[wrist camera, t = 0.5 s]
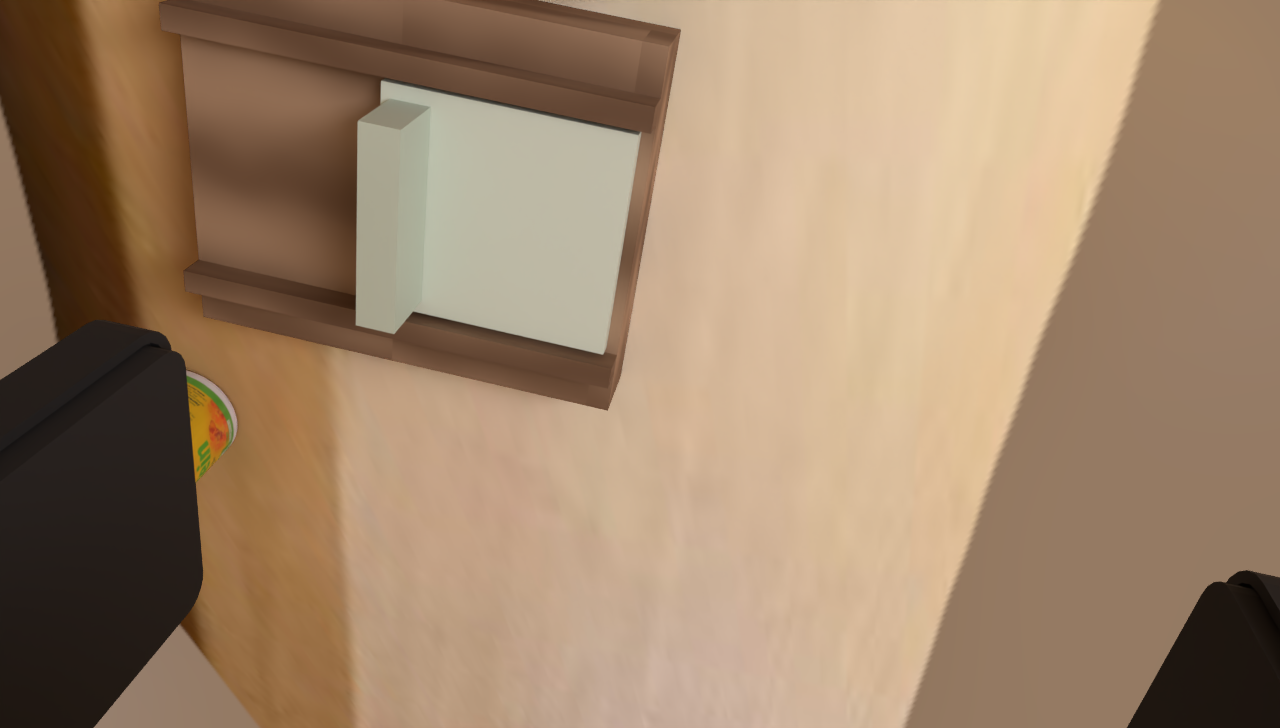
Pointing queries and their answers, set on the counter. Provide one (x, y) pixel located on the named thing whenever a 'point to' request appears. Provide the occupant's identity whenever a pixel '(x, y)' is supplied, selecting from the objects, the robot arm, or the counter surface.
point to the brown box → (327, 157)
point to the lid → (490, 215)
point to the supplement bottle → (209, 422)
